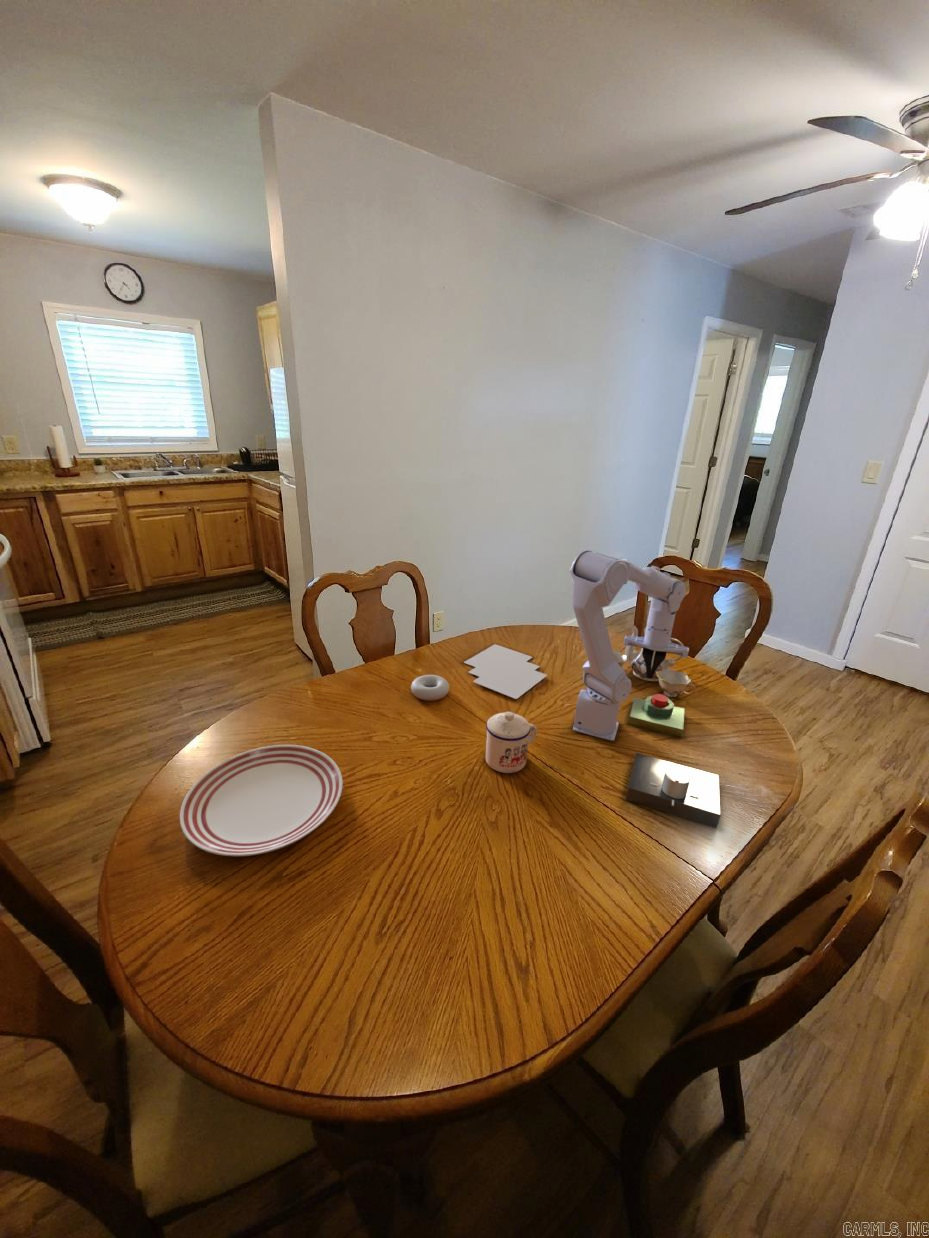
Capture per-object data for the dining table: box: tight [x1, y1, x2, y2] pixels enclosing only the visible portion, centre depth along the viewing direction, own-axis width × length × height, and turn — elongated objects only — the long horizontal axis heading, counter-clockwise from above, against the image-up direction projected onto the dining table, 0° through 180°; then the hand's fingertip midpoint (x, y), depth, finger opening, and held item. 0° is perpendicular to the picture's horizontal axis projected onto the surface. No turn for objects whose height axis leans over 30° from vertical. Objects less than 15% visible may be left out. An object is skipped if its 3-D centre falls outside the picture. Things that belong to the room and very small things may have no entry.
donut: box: [410, 674, 450, 702], centre depth 130 cm, size 10×4×10 cm
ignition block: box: [627, 694, 686, 738], centre depth 122 cm, size 12×10×4 cm
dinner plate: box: [179, 744, 344, 857], centre depth 91 cm, size 27×27×3 cm
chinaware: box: [612, 624, 696, 698], centre depth 139 cm, size 28×17×17 cm, turn 55°
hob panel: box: [625, 752, 722, 829], centre depth 97 cm, size 16×13×3 cm
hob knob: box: [662, 768, 690, 799], centre depth 94 cm, size 4×4×4 cm
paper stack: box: [463, 643, 548, 700], centre depth 143 cm, size 23×25×1 cm
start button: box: [652, 693, 669, 707], centre depth 122 cm, size 4×4×2 cm
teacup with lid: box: [485, 711, 538, 774], centre depth 104 cm, size 12×9×12 cm
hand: (649, 676), depth 123 cm, fingers closed
